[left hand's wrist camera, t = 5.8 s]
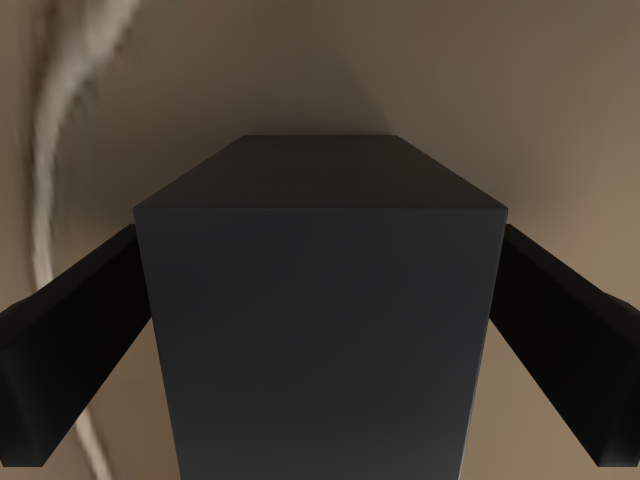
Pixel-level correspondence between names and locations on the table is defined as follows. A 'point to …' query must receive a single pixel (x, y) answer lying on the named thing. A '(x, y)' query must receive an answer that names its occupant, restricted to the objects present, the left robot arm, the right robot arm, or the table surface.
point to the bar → (320, 308)
